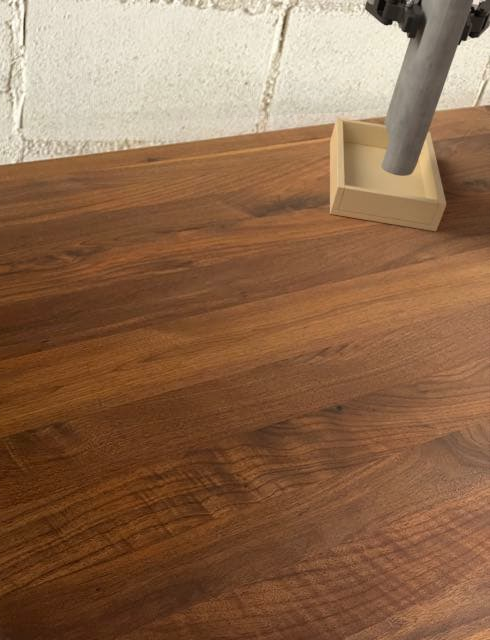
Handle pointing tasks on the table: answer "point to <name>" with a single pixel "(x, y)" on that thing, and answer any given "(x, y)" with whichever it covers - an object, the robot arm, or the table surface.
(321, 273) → the table surface
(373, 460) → the table surface
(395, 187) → the tray
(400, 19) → the robot arm
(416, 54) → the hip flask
